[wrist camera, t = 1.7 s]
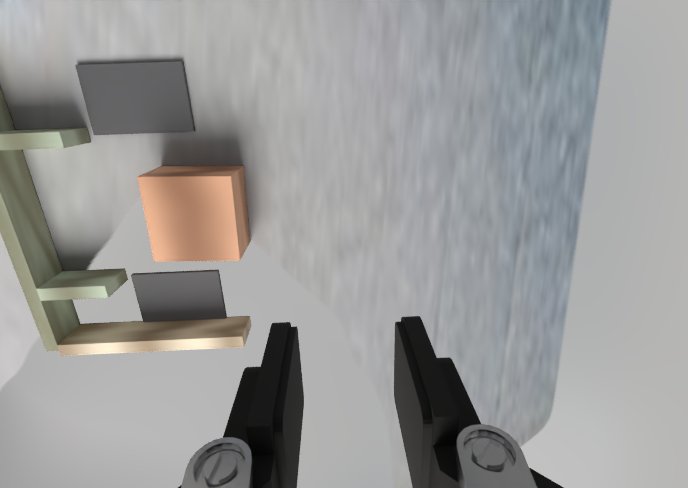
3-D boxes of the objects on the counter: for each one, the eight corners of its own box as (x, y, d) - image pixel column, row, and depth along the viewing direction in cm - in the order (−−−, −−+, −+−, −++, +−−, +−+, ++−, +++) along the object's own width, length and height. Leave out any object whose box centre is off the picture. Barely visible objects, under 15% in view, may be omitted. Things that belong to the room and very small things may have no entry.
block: (243, 165, 29) (230, 176, 25) (250, 240, 31) (239, 260, 27) (162, 165, 29) (137, 176, 25) (175, 241, 31) (154, 261, 27)
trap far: (218, 269, 32) (217, 271, 31) (226, 316, 33) (225, 318, 33) (132, 273, 32) (131, 275, 31) (145, 320, 33) (143, 322, 33)
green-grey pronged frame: (211, 52, 26) (197, 47, 23) (251, 325, 34) (243, 346, 31) (-24, 60, 25) (-68, 56, 23) (72, 334, 33) (48, 356, 31)
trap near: (183, 61, 26) (181, 61, 26) (195, 130, 28) (193, 131, 27) (78, 65, 26) (75, 64, 26) (96, 134, 27) (93, 135, 27)
